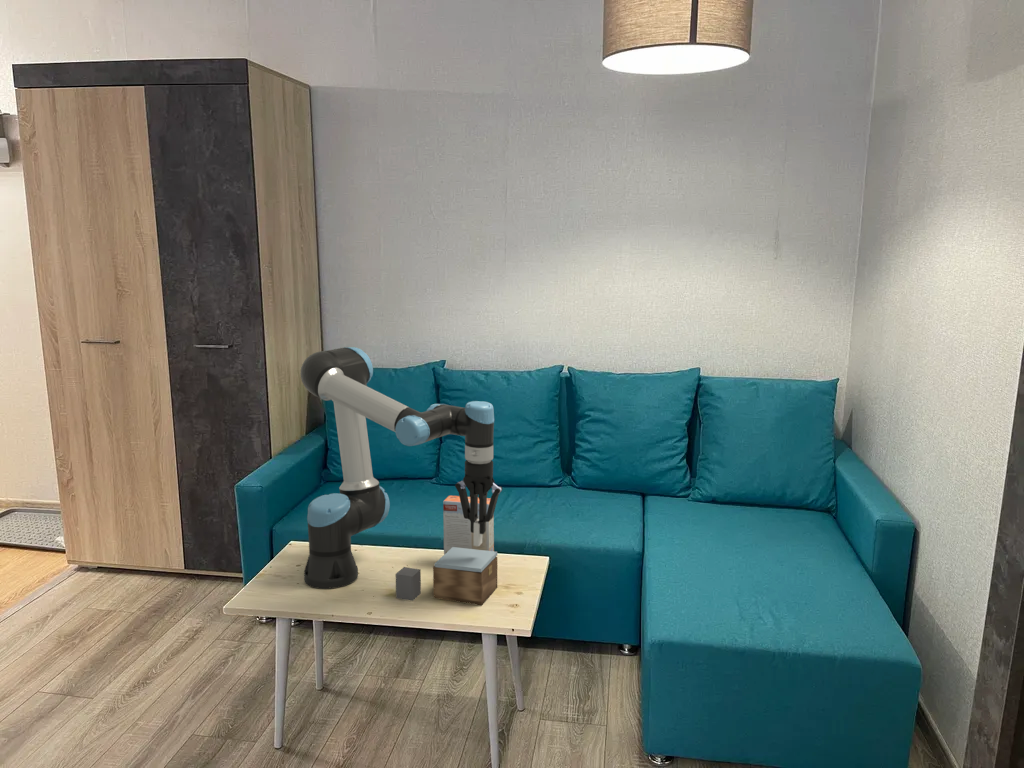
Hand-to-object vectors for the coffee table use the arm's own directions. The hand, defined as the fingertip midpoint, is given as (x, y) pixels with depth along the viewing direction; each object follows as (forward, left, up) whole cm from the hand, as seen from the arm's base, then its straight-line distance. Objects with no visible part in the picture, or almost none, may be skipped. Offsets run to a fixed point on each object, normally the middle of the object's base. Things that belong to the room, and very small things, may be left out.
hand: (477, 544), depth 216 cm
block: (-17, -7, -15) cm, 24 cm away
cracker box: (-9, +17, -15) cm, 24 cm away
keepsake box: (-3, 0, -15) cm, 15 cm away
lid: (-3, 0, -5) cm, 6 cm away
